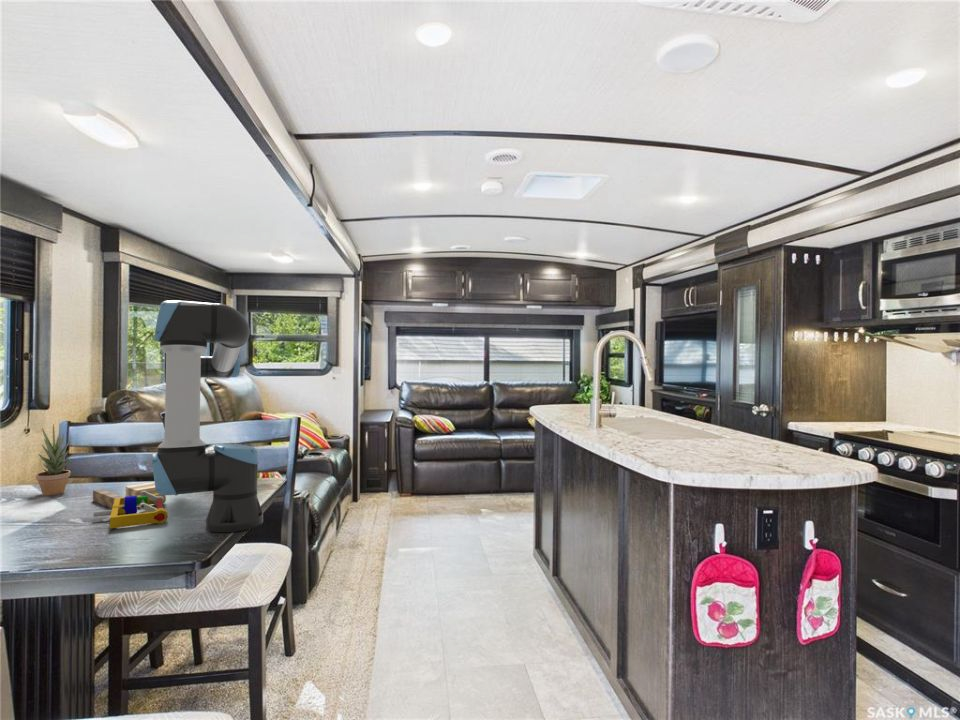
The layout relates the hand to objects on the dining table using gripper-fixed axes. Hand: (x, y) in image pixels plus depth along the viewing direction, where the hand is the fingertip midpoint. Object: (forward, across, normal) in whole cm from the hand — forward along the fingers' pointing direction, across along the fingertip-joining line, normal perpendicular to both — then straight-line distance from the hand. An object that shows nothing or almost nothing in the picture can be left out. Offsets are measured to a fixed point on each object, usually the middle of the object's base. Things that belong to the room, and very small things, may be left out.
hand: (178, 457), depth 188 cm
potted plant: (+13, +28, -30) cm, 43 cm away
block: (+13, +10, -1) cm, 16 cm away
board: (+12, +22, 0) cm, 25 cm away
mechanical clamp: (+12, +23, +19) cm, 32 cm away
